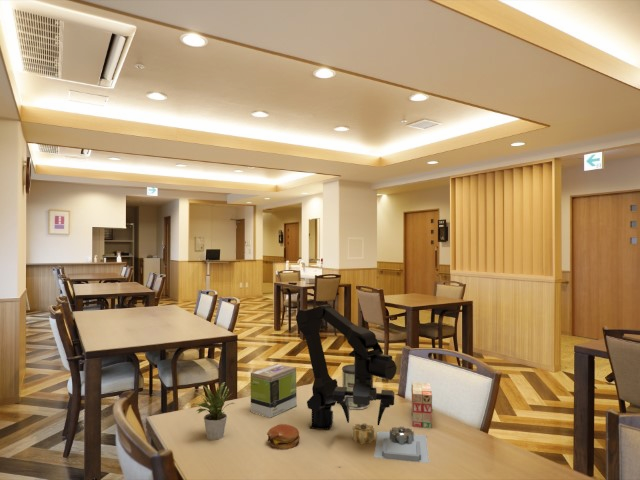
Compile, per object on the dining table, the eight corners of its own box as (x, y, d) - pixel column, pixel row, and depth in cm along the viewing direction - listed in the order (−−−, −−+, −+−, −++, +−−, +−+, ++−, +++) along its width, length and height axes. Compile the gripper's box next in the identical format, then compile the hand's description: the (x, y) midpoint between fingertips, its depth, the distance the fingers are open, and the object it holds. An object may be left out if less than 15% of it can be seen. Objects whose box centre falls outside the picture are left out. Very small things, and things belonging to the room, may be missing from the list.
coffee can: (367, 400, 171) (367, 364, 171) (370, 410, 161) (370, 371, 161) (341, 400, 171) (341, 363, 172) (342, 409, 161) (342, 371, 161)
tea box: (277, 400, 170) (277, 362, 170) (297, 406, 164) (297, 367, 164) (249, 412, 158) (249, 371, 158) (270, 418, 152) (270, 376, 152)
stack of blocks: (411, 407, 164) (411, 374, 164) (428, 408, 163) (428, 375, 163) (412, 430, 143) (412, 392, 143) (432, 432, 142) (432, 394, 142)
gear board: (373, 461, 121) (374, 452, 122) (377, 434, 139) (377, 426, 139) (429, 467, 119) (429, 457, 119) (426, 439, 136) (426, 430, 136)
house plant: (199, 425, 146) (200, 376, 146) (240, 425, 145) (241, 376, 146) (185, 444, 132) (186, 389, 132) (230, 445, 131) (231, 390, 132)
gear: (389, 443, 130) (389, 433, 131) (390, 433, 138) (390, 423, 138) (413, 445, 129) (413, 435, 129) (413, 435, 136) (413, 425, 136)
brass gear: (351, 446, 131) (351, 429, 131) (353, 437, 137) (354, 420, 137) (373, 448, 130) (373, 431, 130) (374, 439, 136) (375, 422, 136)
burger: (297, 435, 139) (297, 420, 139) (301, 448, 130) (301, 432, 130) (265, 437, 137) (266, 422, 137) (268, 451, 128) (268, 435, 128)
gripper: (329, 378, 128) (328, 431, 128) (393, 382, 124) (393, 437, 124) (335, 368, 139) (334, 417, 139) (394, 371, 135) (394, 422, 135)
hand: (363, 423), depth 134 cm, fingers open, 9 cm apart
